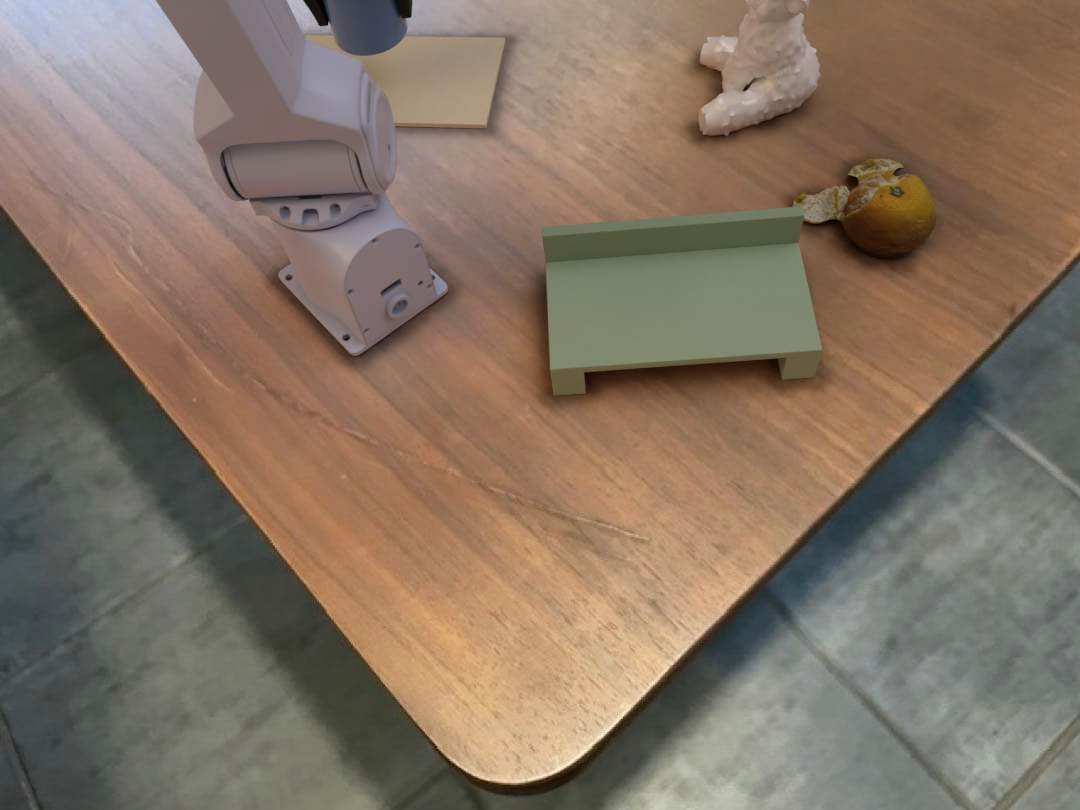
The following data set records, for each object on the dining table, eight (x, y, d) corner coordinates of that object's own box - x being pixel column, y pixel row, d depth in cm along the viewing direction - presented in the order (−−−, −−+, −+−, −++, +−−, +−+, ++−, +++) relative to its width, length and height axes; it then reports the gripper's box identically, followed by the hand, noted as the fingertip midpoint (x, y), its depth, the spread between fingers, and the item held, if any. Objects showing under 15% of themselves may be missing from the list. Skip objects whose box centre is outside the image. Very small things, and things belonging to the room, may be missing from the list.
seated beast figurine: (698, 53, 75) (708, -95, 65) (812, 52, 74) (840, -99, 64) (697, 139, 70) (707, -6, 60) (819, 140, 69) (850, -8, 59)
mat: (505, 41, 78) (505, 37, 77) (486, 128, 73) (485, 124, 72) (293, 38, 80) (292, 34, 80) (260, 123, 75) (258, 119, 75)
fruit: (876, 155, 68) (887, 115, 65) (963, 227, 64) (980, 188, 61) (783, 208, 66) (790, 169, 63) (866, 285, 62) (878, 248, 59)
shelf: (814, 377, 59) (830, 324, 54) (553, 396, 60) (546, 345, 55) (790, 263, 63) (802, 205, 59) (548, 282, 64) (541, 226, 60)
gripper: (431, -223, 61) (464, -30, 73) (209, -199, 62) (276, -12, 74) (428, -162, 57) (463, 31, 69) (191, -138, 58) (265, 49, 70)
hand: (366, 13), depth 71 cm, fingers closed on cup, 5 cm apart
